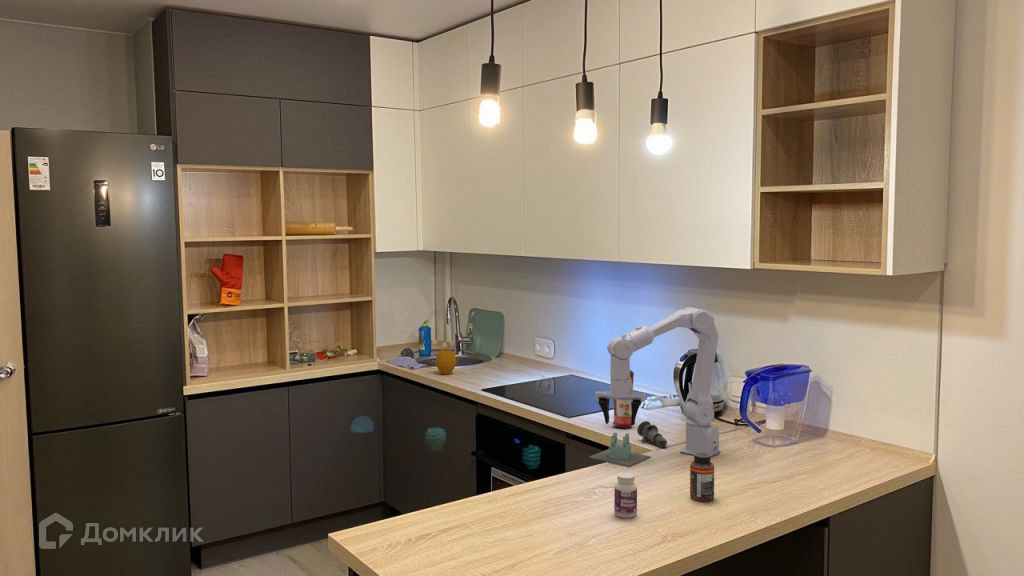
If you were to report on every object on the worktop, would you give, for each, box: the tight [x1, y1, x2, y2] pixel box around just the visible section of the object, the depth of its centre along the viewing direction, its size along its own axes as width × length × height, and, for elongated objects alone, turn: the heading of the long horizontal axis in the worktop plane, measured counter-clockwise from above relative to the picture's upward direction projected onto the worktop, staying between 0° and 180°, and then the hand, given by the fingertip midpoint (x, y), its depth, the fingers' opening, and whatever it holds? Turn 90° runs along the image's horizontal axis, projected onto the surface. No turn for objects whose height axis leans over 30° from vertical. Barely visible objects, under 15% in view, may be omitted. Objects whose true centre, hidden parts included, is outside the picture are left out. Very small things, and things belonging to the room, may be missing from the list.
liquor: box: [612, 369, 635, 430], centre depth 269 cm, size 7×7×28 cm
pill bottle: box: [613, 472, 638, 519], centre depth 188 cm, size 5×5×10 cm
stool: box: [608, 432, 632, 460], centre depth 234 cm, size 6×6×6 cm
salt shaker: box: [636, 420, 668, 448], centre depth 248 cm, size 6×6×12 cm
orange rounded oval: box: [435, 349, 457, 375], centre depth 369 cm, size 10×10×12 cm
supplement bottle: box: [689, 453, 715, 502], centre depth 199 cm, size 6×6×11 cm
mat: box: [588, 448, 652, 468], centre depth 234 cm, size 14×12×1 cm
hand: (620, 423), depth 233 cm, fingers open, 7 cm apart
